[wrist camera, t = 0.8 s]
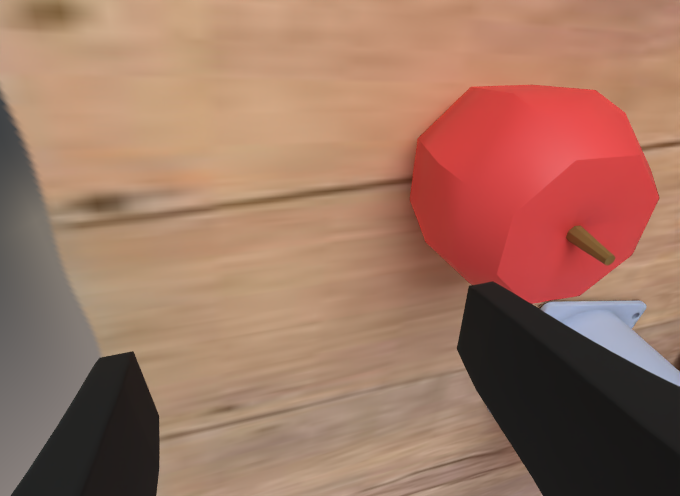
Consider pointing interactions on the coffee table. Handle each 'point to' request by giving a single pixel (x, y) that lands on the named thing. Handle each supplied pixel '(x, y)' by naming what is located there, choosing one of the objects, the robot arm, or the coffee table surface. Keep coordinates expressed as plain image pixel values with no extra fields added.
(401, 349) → the coffee table surface
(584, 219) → the apple
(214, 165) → the coffee table surface
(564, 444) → the robot arm
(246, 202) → the coffee table surface
